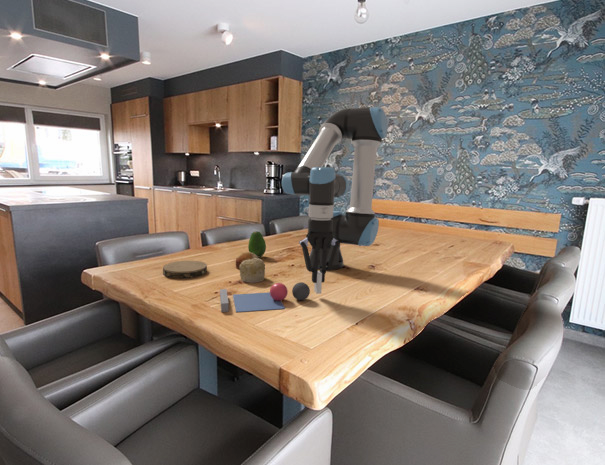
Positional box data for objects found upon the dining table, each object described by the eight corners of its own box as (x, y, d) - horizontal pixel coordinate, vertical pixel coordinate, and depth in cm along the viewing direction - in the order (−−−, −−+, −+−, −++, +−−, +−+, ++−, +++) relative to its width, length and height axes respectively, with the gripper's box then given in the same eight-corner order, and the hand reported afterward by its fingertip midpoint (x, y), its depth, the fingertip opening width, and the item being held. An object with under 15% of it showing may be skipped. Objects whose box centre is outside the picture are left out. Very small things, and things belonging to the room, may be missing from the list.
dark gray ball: (293, 278, 111) (287, 293, 111) (299, 284, 106) (292, 301, 106) (308, 281, 113) (302, 297, 114) (315, 288, 108) (308, 304, 109)
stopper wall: (226, 296, 111) (226, 289, 110) (228, 311, 99) (228, 303, 99) (220, 297, 110) (219, 289, 110) (221, 311, 99) (221, 303, 98)
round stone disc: (194, 265, 146) (194, 258, 145) (214, 274, 135) (214, 266, 134) (156, 272, 135) (155, 264, 134) (174, 282, 124) (174, 274, 123)
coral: (253, 284, 123) (253, 263, 122) (234, 279, 128) (234, 259, 127) (270, 278, 130) (270, 258, 129) (251, 273, 136) (251, 254, 134)
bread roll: (260, 274, 148) (262, 255, 151) (255, 270, 139) (257, 250, 141) (237, 272, 149) (239, 254, 151) (231, 268, 139) (233, 248, 142)
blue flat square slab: (276, 292, 116) (276, 292, 116) (284, 308, 102) (284, 308, 102) (232, 295, 112) (232, 294, 112) (236, 312, 99) (236, 311, 99)
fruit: (264, 259, 157) (265, 233, 155) (246, 259, 158) (247, 232, 155) (266, 255, 165) (267, 230, 163) (249, 254, 165) (249, 229, 163)
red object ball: (288, 290, 112) (279, 277, 111) (292, 296, 107) (283, 282, 105) (274, 300, 112) (265, 286, 110) (277, 307, 106) (267, 292, 105)
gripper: (303, 220, 103) (300, 297, 107) (345, 220, 106) (341, 295, 110) (297, 216, 110) (294, 289, 114) (336, 216, 113) (333, 287, 117)
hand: (317, 292), depth 112 cm, fingers closed
